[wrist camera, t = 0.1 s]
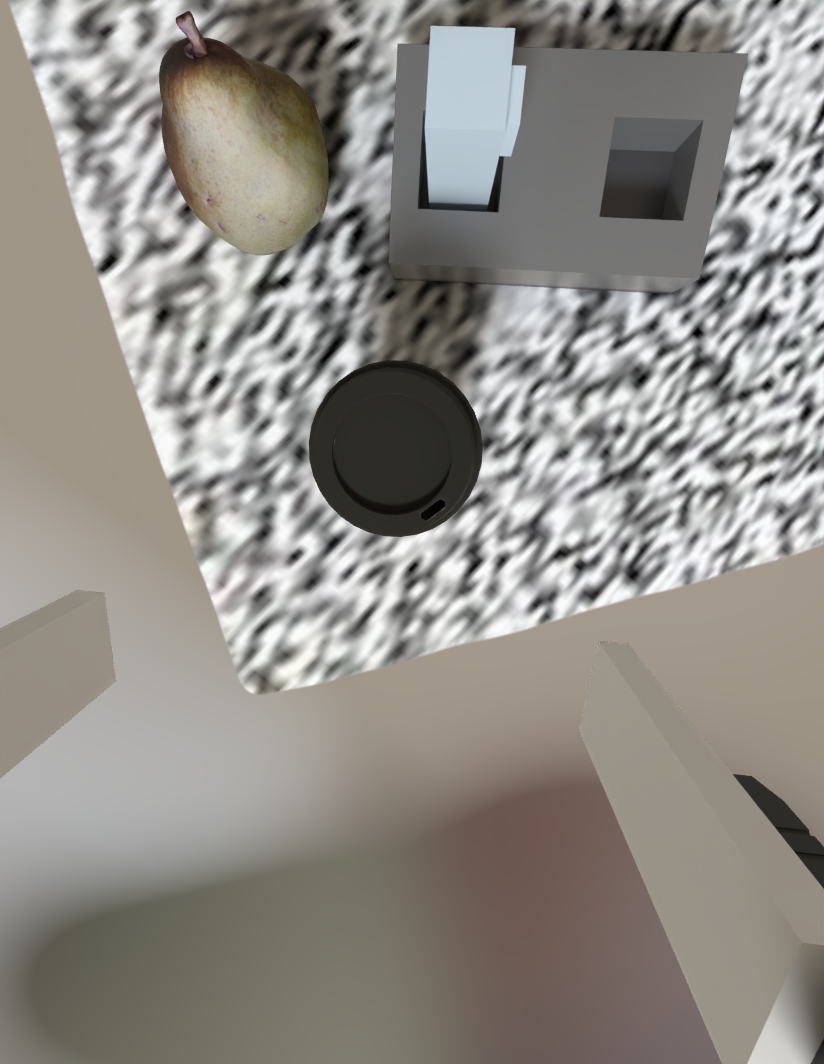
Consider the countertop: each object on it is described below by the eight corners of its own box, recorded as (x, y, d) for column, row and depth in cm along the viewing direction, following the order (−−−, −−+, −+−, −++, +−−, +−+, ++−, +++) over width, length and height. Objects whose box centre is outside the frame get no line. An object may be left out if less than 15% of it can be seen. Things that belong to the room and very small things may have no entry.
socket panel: (403, 88, 31) (397, 43, 27) (708, 99, 30) (748, 53, 26) (394, 279, 34) (388, 263, 30) (669, 293, 33) (699, 278, 29)
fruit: (306, 92, 31) (229, -91, 20) (367, 227, 33) (329, 132, 22) (191, 171, 33) (58, 45, 22) (255, 294, 35) (165, 239, 24)
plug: (434, 154, 31) (430, 25, 21) (501, 157, 31) (532, 28, 21) (429, 218, 33) (424, 127, 22) (494, 221, 32) (521, 131, 22)
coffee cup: (420, 350, 36) (407, 311, 21) (491, 448, 37) (523, 473, 23) (330, 427, 38) (261, 439, 23) (401, 516, 39) (378, 578, 25)
